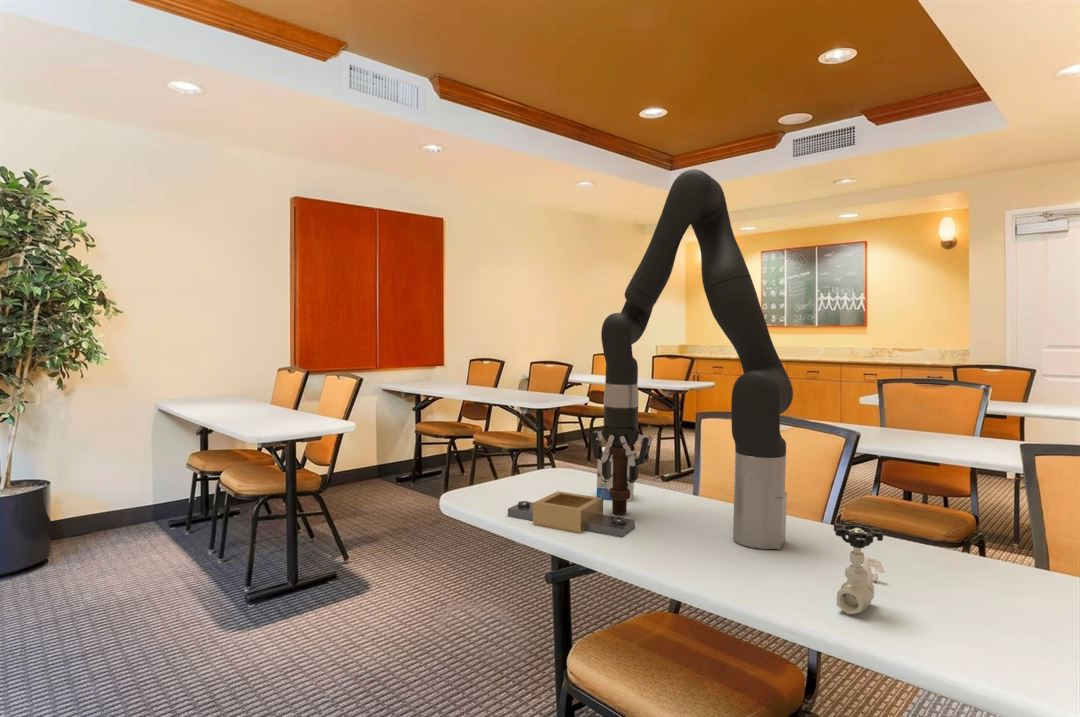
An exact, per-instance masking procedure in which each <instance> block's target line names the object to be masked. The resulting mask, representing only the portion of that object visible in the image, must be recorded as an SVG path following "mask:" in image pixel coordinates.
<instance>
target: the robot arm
mask: <svg viewBox="0 0 1080 717" xmlns="http://www.w3.org/2000/svg"><path fill="white" fill-rule="evenodd" d="M690 226H691V228H692V230H693V232H694V235H695V237H696V241H697V243H698V245H699V250H700V259H701V260H700V261H701V263H700V267H701V269H700V270H701V280H702V285H703V289H704V294H705V296H706V300H707V303H708V305H709V309H710V311H711V313H712V316H713V318H714V319H715V321H716V323H717V325H718V326H719V327H720V329H721V330H722V332H723V334H724V335H725V336H726V338H727V339H728V340H729V342H730V343H731V345H732V346H733V348H734V350H735V352H736V354H737V356H738V359H739V362H740V364H741V368H742V372H743V373H742V374H741V375H740V376H739V377H738V378H737V379H736V380H735V382H734V384H733V387H732V392H731V404H730V408H731V409H730V410H731V412H730V413H731V434H732V438H733V441H734V448H735V450H734V454H735V455H734V484H733V485H734V487H733V488H734V489H733V517H732V518H733V520H732V523H733V524H732V525H733V526H732V539H733V541H734V542H736V543H737V544H740V545H742V546H744V547H749V548H753V549H761V550H781V549H782V548H783V545H785V542H786V535H787V534H786V533H787V532H786V531H787V529H786V528H787V498H788V497H787V496H788V495H787V494H788V493H787V492H786V468H787V467H786V464H787V443H786V442H787V441H786V440H785V439H784V438H783V436H782V435H781V434H782V433H781V424H780V423H781V422H780V421H781V420H780V419H781V414H783V413H785V412H786V411H787V410H788V409H789V407H791V404H792V402H793V399H794V398H793V397H794V391H793V390H794V389H793V386H792V383H791V380H790V378H789V375H788V374H787V370H786V369H785V367H784V365H783V363H782V361H781V359H780V356H779V355H778V352H777V350H776V347H775V346H774V344H773V343H774V342H773V341H772V337H771V335H770V331H769V328H768V325H767V322H766V319H765V316H764V313H763V310H762V307H761V303H760V301H759V300H760V299H759V297H758V294H757V291H756V287H755V285H754V282H753V280H752V279H753V278H752V277H751V273H750V271H749V269H748V266H747V264H746V260H745V258H744V255H743V253H742V251H741V249H740V246H739V244H738V242H737V239H736V236H735V235H734V231H733V228H732V223H731V220H730V216H729V209H728V206H727V201H726V196H725V192H724V191H723V188H722V185H721V184H720V183H719V181H717V180H716V179H714V177H712V176H710V175H709V174H707V172H705V171H703V170H700V169H694V168H693V169H687V170H685V171H683V172H682V173H680V174H679V175H678V176H677V177H676V179H674V181H673V183H672V185H671V187H670V190H669V192H668V194H667V197H666V199H665V201H664V206H663V208H662V211H661V214H660V215H659V219H658V222H657V224H656V227H655V229H654V231H653V232H654V233H653V234H652V237H651V239H650V242H649V244H648V246H647V248H646V251H645V253H644V254H643V257H642V259H641V261H640V263H639V265H638V266H637V268H636V270H635V272H634V274H632V278H631V279H630V281H629V283H628V284H627V287H626V289H625V292H624V299H625V302H624V305H623V307H622V310H621V312H614V313H611V314H609V315H607V317H606V318H605V319H604V321H603V323H602V326H601V331H600V332H601V334H600V335H601V337H600V338H601V344H602V345H601V346H602V351H603V357H604V361H605V386H604V393H603V428H602V430H600V431H599V430H595V431H592V432H590V434H589V435H590V443H591V448H592V455H593V457H594V459H596V460H598V459H599V460H601V462H602V476H604V479H606V480H608V479H610V478H611V462H610V458H611V456H612V455H610V454H609V447H620V448H624V449H626V456H627V457H628V459H629V462H630V465H631V466H630V467H629V482H630V483H634V484H635V483H636V481H637V480H638V479H639V466H640V465H644V464H645V463H647V461H648V459H649V458H648V457H649V454H650V448H651V445H652V440H653V437H651V435H647V436H645V435H642V434H641V433H640V432H639V429H638V428H639V399H640V398H639V396H640V395H639V386H638V385H639V384H638V380H639V379H638V378H639V376H638V375H639V365H638V361H637V359H636V358H635V357H633V347H632V346H633V345H634V344H636V343H637V342H638V341H639V340H640V339H641V338H642V336H643V335H644V333H645V331H646V328H647V327H648V324H649V321H650V318H651V316H652V312H653V308H654V306H655V305H656V303H657V302H658V299H659V298H660V296H661V294H662V293H663V291H664V289H665V288H666V286H667V283H668V281H669V279H670V277H671V274H672V272H673V268H674V264H675V261H676V260H675V259H676V257H677V253H678V249H679V246H680V244H681V241H682V240H683V237H684V235H685V233H686V231H687V230H688V229H689V227H690ZM603 439H604V441H605V442H606V444H605V446H604V447H605V449H604V453H603V451H602V447H603V446H602V440H603ZM637 441H639V442H638V443H639V445H640V446H641V447H640V449H639V455H638V453H637V452H638V451H637V448H636V445H635V444H636V443H637ZM630 448H633V451H631V449H630ZM627 450H628V451H627Z"/></svg>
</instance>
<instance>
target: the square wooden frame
mask: <svg viewBox="0 0 1080 717" xmlns="http://www.w3.org/2000/svg"><path fill="white" fill-rule="evenodd" d="M532 503H533V521H532V525H536V526H541V527H548V528H551V529H555V530H556V529H557V530H562V531H567V532H572V533H577V534H581V533H583V532H584V531H585V522H587V521H588V520H590V519H592V518H593V517H595V516H597V515H598V514H603V515H604V499H603V498H598V497H597V496H591V495H585V494H579V493H578V494H577V493H571V492H565V491H559V490H557V491H555V492H553V493H552V494H549V495H547V496H544V497H542V498H540V499H538V500H536V501H534V502H532ZM585 532H586V531H585Z"/></svg>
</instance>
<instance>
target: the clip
mask: <svg viewBox="0 0 1080 717" xmlns="http://www.w3.org/2000/svg"><path fill="white" fill-rule="evenodd" d="M861 566H863V567H864V570H866V571H867V572H868V579H867V580H868V581H872V582H874V583H876V582H875V581H877V582H878V580H879V576H878V573H880V574H881V573H882V574H885V570H884V567H883V565H882V561H881V560H877V558H871V557H869V556H865V555H864V563H863V564H861ZM872 567H873V568H875V569H874V570H875V572H877V573H872Z"/></svg>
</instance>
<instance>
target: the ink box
mask: <svg viewBox="0 0 1080 717" xmlns="http://www.w3.org/2000/svg"><path fill="white" fill-rule="evenodd" d="M605 447H606V446H602V451H603V453H604V449H605ZM610 462H611V478H610V479H608V480H606V479H604V476H602V462H601V460H599V459H597V465H596V466H597V467H596V468H597V469H596V470H597V471H596V472H597V473H596V497H598V498H603V500H610V499H611V498H610V496H609V489H610V488H613V487H612V486H613V455H612V456H611V458H610ZM627 463H628V464H627V488H628V489H629V490H630V498H629V499H628V500H627V502H631V501H632V500H633V498H634V488H635V482H634V483H630V482H629V467H630V466H631V465H630V462H629V459H628V462H627ZM611 501H613V499H612V500H611Z"/></svg>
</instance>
